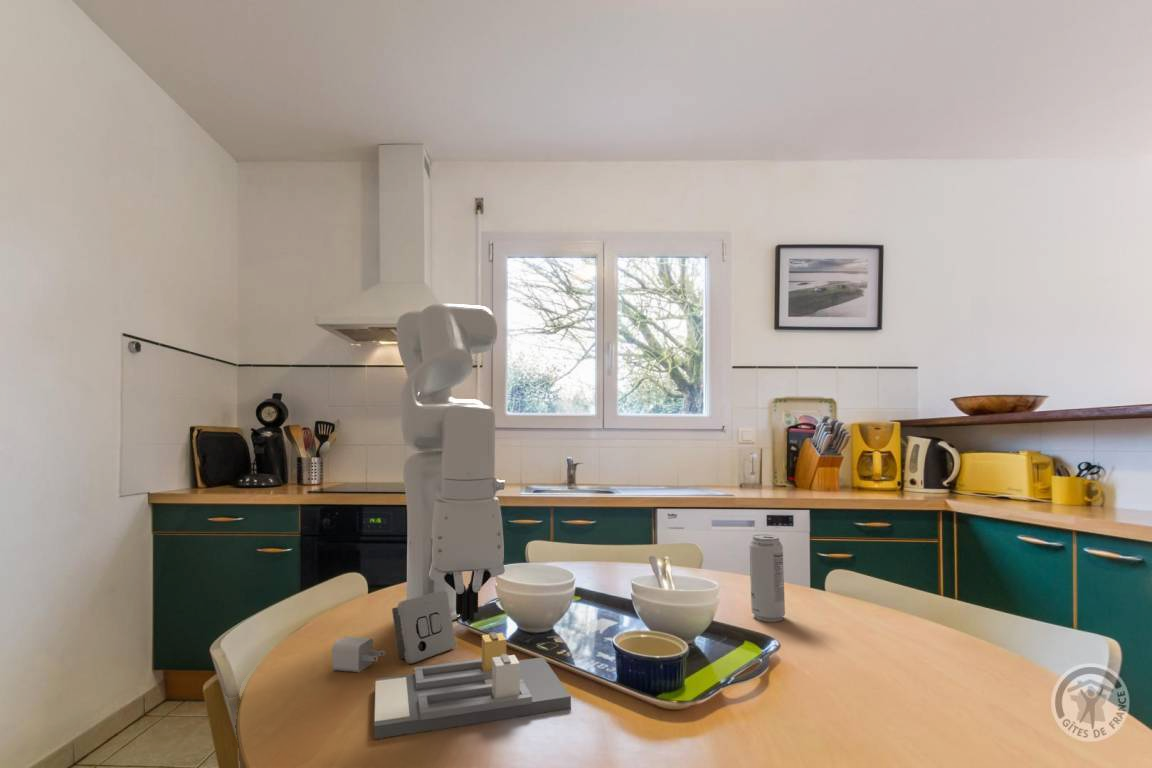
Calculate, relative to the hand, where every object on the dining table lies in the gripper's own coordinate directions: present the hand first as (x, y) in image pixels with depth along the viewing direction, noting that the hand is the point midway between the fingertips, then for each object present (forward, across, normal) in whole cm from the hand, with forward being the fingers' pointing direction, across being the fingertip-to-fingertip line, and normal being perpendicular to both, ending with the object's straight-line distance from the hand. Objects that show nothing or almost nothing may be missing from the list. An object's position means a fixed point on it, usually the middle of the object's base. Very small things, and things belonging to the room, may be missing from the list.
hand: (466, 618), depth 86 cm
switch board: (+9, 0, +6) cm, 10 cm away
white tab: (+7, -4, +10) cm, 13 cm away
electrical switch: (+10, +5, -13) cm, 17 cm away
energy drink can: (+9, -58, -10) cm, 59 cm away
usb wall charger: (+10, +15, -10) cm, 20 cm away
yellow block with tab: (+7, -4, +1) cm, 8 cm away
